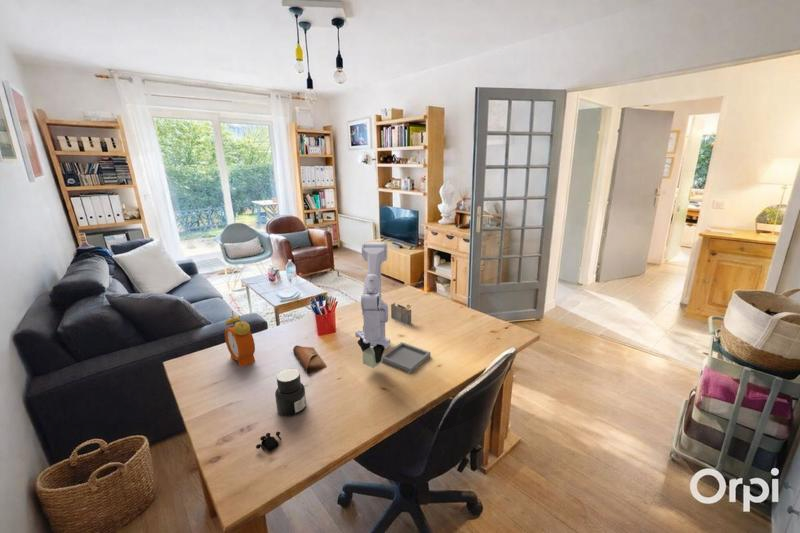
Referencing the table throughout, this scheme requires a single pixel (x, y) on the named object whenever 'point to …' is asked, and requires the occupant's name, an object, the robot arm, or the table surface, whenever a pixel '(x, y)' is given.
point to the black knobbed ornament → (269, 442)
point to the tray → (405, 357)
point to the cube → (370, 357)
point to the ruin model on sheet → (401, 313)
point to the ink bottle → (290, 393)
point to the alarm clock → (240, 341)
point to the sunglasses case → (309, 358)
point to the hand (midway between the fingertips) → (372, 359)
